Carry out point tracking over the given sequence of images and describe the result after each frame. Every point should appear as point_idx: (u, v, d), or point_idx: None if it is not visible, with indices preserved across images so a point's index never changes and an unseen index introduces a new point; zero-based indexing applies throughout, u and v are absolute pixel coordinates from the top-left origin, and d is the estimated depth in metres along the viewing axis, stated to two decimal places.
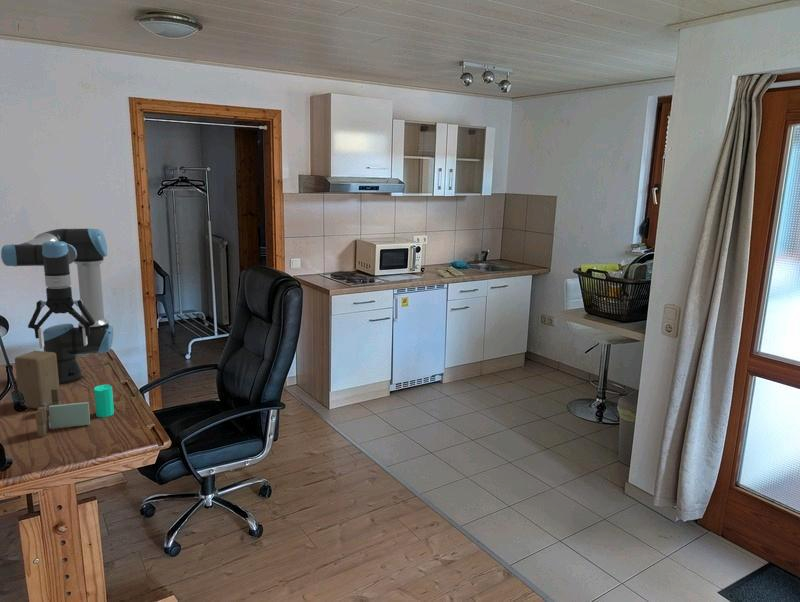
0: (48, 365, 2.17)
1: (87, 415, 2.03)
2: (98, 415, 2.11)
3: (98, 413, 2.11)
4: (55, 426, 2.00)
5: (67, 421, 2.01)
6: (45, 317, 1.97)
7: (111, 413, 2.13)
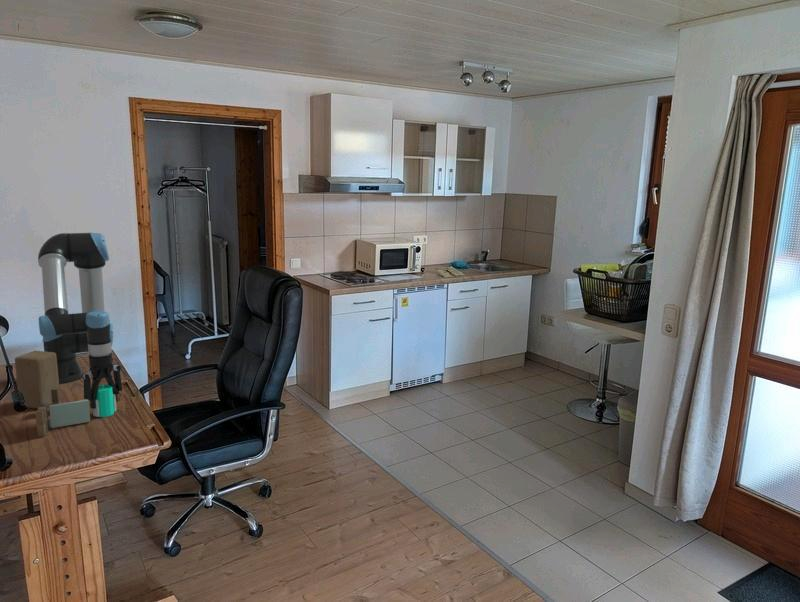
0: (48, 365, 2.17)
1: (88, 412, 2.05)
2: None
3: None
4: (56, 425, 2.00)
5: (68, 419, 2.02)
6: None
7: (111, 413, 2.13)
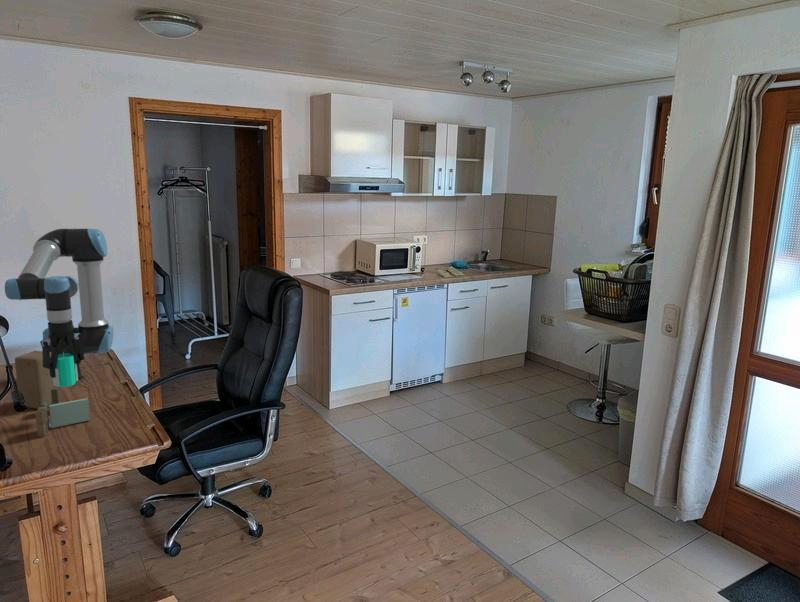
0: None
1: (87, 411, 2.06)
2: None
3: None
4: (56, 425, 2.01)
5: (68, 419, 2.03)
6: None
7: (72, 383, 2.06)
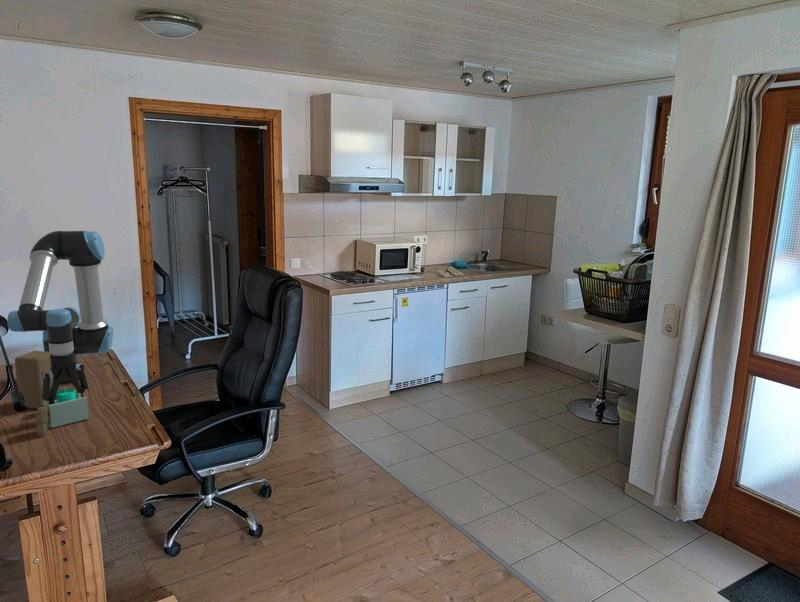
0: (48, 365, 2.17)
1: (86, 410, 2.07)
2: None
3: None
4: (56, 425, 2.01)
5: (67, 418, 2.03)
6: None
7: None
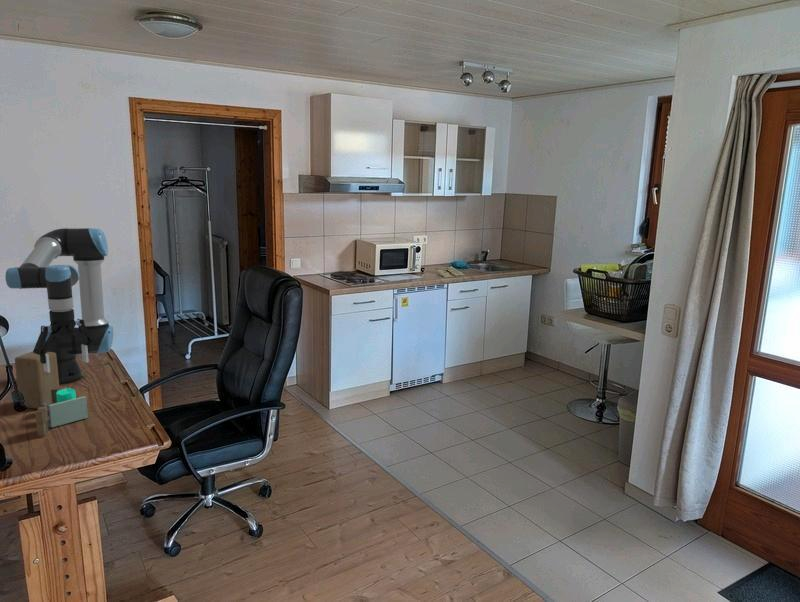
0: None
1: (85, 409, 2.08)
2: None
3: None
4: (56, 424, 2.01)
5: (67, 417, 2.04)
6: None
7: None
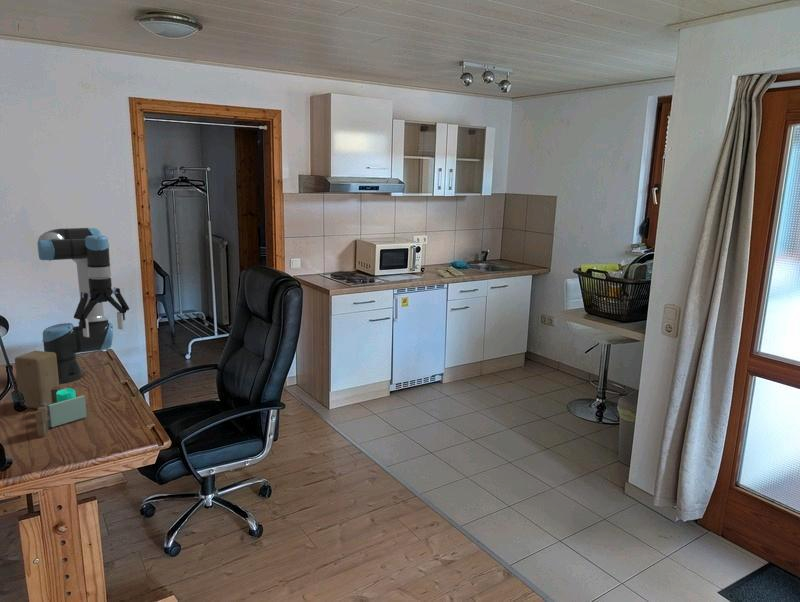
0: (48, 365, 2.17)
1: (84, 408, 2.09)
2: None
3: None
4: (55, 424, 2.01)
5: (66, 417, 2.04)
6: None
7: None
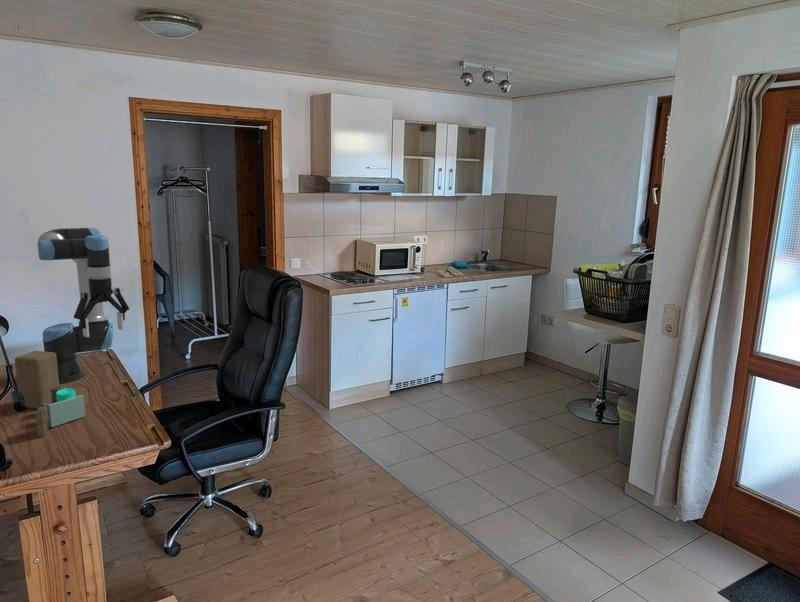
0: (48, 365, 2.17)
1: (83, 407, 2.09)
2: None
3: None
4: (55, 424, 2.01)
5: (66, 417, 2.04)
6: None
7: None
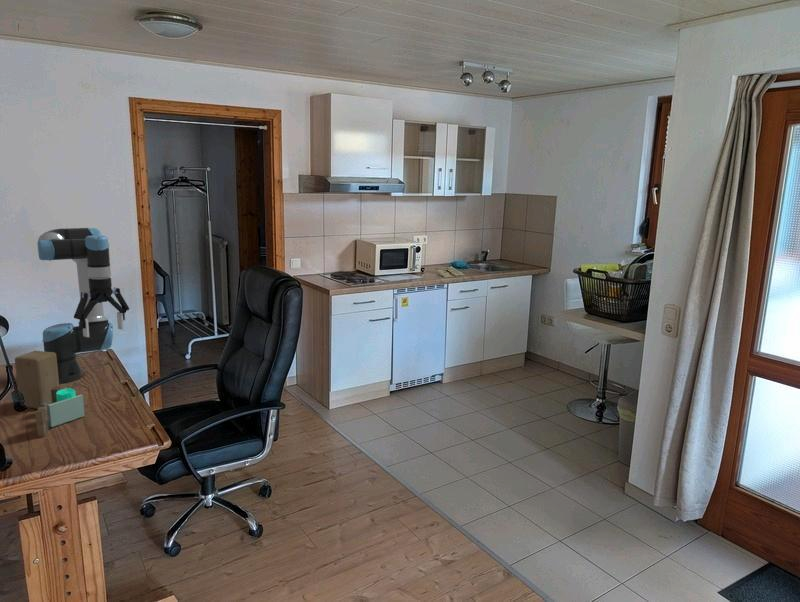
0: (48, 365, 2.17)
1: (82, 407, 2.10)
2: None
3: None
4: (55, 424, 2.02)
5: (65, 416, 2.04)
6: None
7: None
